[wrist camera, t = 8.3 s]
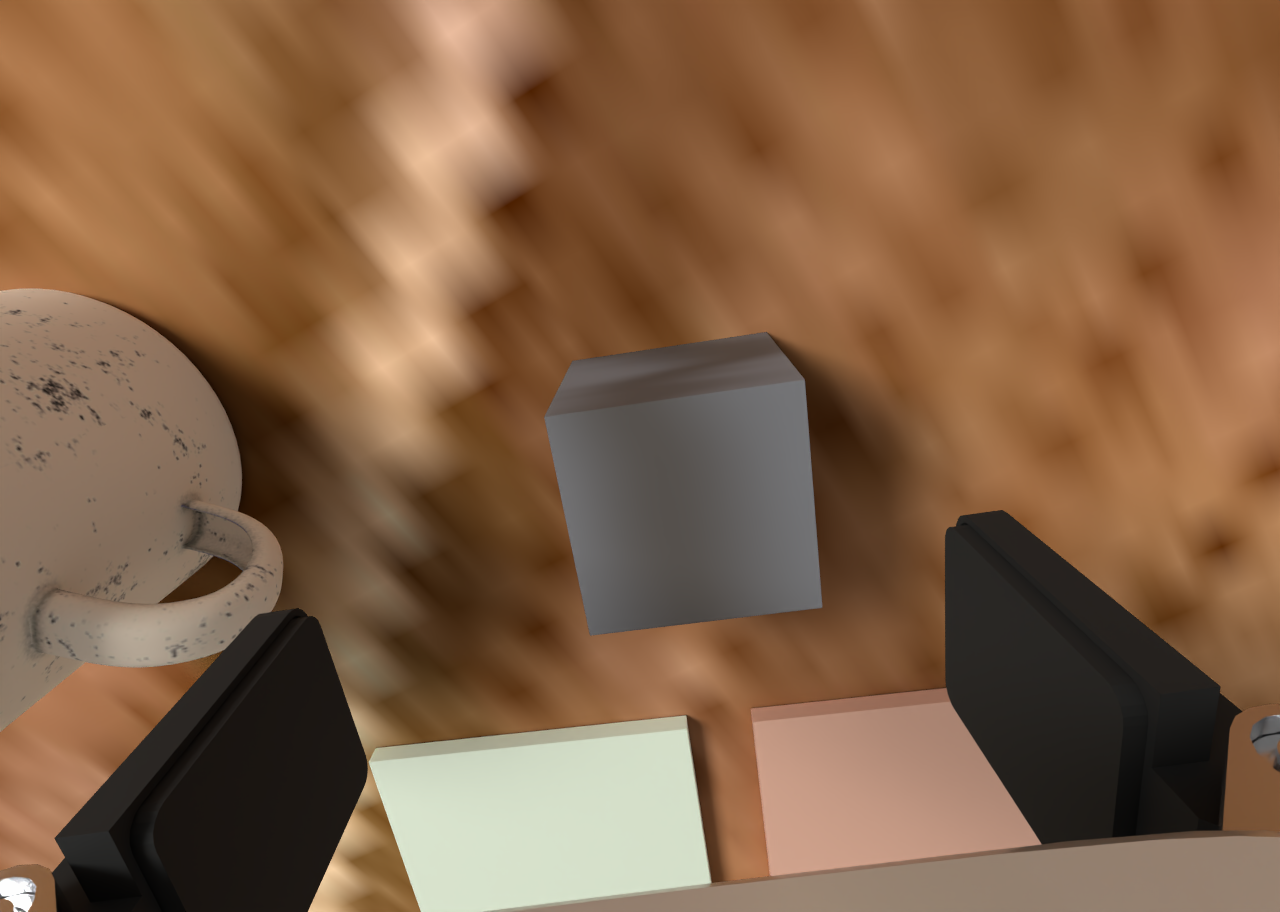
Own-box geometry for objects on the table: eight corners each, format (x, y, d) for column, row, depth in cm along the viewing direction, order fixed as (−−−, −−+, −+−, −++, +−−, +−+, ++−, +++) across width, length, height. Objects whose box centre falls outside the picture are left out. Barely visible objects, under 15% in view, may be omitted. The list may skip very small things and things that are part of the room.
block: (766, 331, 18) (804, 379, 13) (782, 509, 20) (821, 607, 15) (573, 360, 18) (544, 416, 14) (605, 532, 20) (590, 635, 15)
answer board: (1085, 673, 21) (1097, 686, 21) (1066, 912, 25) (1076, 929, 24) (375, 747, 23) (368, 761, 22) (449, 963, 26) (445, 980, 26)
